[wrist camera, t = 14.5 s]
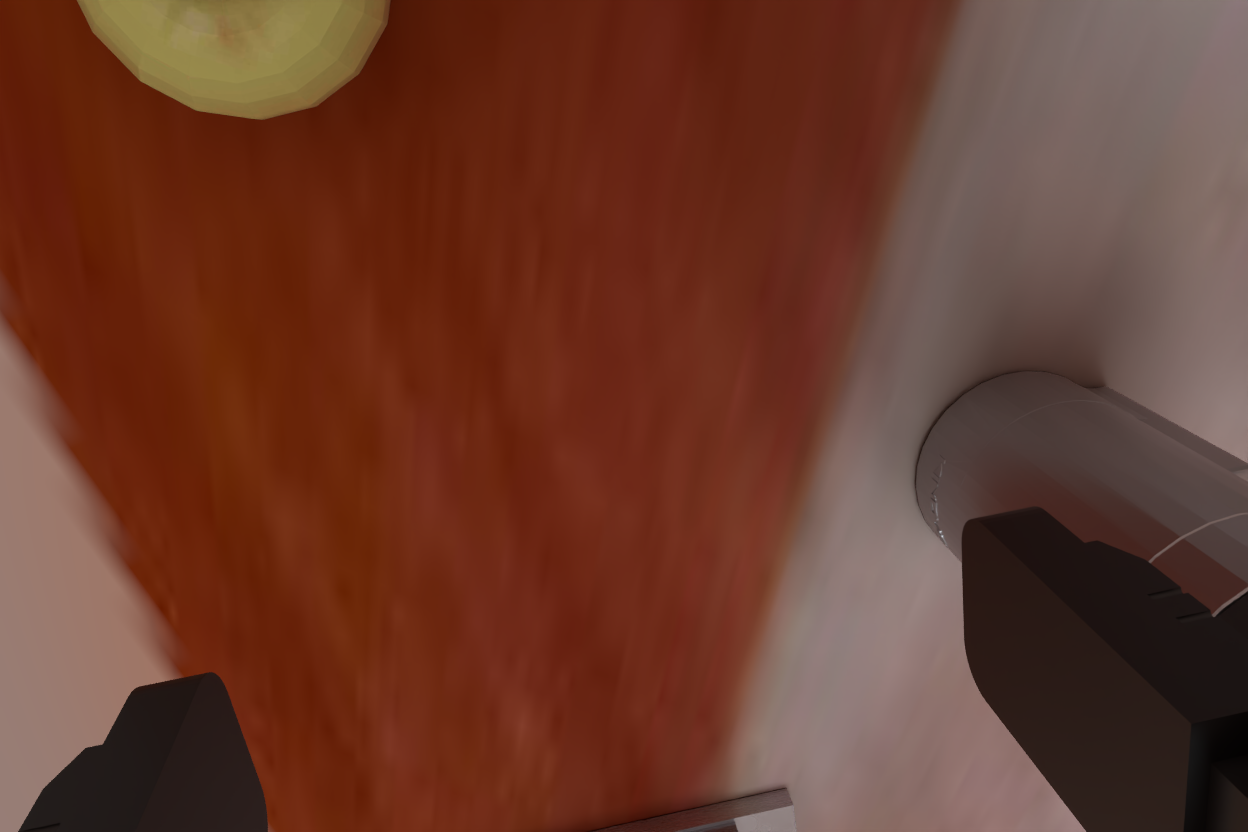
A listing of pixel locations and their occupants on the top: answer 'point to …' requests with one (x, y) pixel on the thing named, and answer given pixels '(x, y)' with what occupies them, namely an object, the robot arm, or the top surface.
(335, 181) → the top surface
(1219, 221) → the top surface
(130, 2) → the apple
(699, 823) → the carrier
